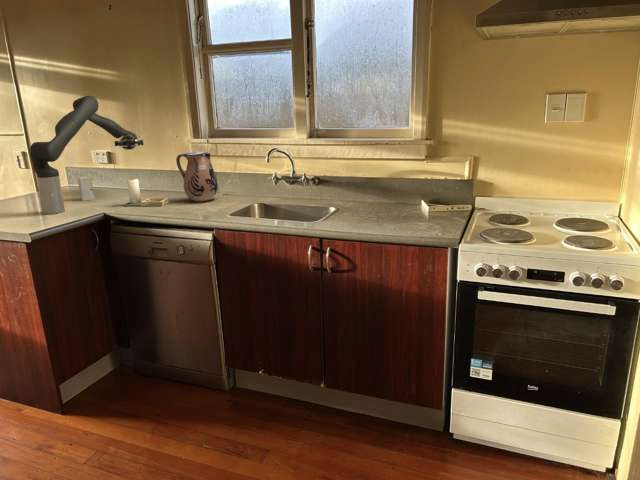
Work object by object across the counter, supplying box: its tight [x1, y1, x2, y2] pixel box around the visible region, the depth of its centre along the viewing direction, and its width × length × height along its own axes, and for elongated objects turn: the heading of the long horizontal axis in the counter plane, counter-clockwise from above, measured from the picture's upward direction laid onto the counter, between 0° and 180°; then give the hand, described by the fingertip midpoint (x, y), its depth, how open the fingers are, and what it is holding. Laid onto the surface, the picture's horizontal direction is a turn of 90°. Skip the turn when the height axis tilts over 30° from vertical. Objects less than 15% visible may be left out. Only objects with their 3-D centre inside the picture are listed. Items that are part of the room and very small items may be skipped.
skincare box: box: [77, 176, 95, 201], centre depth 258 cm, size 6×4×12 cm
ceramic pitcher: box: [175, 151, 219, 202], centre depth 249 cm, size 18×21×25 cm
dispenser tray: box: [139, 197, 170, 208], centre depth 243 cm, size 11×11×2 cm
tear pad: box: [122, 200, 143, 208], centre depth 244 cm, size 10×9×1 cm
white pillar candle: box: [127, 178, 142, 204], centre depth 242 cm, size 5×5×12 cm
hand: (129, 143), depth 247 cm, fingers open, 8 cm apart
